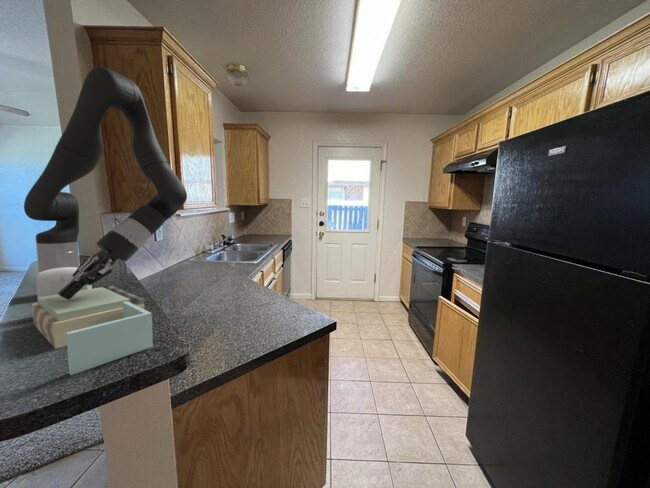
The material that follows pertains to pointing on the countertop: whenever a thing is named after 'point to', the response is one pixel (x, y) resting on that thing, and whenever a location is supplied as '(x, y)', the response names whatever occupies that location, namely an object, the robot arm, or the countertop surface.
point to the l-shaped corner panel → (110, 339)
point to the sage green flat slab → (81, 303)
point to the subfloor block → (77, 320)
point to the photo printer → (55, 281)
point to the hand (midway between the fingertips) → (62, 297)
